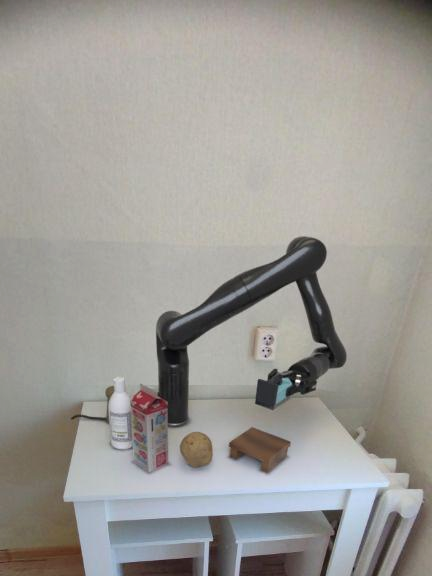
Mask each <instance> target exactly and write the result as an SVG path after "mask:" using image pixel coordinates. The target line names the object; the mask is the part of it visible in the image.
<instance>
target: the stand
mask: <svg viewBox="0 0 432 576" xmlns="http://www.w3.org/2000/svg"><path fill="white" fill-rule="evenodd" d="M290 447H291V441H290V440H288V439H285V438H283V437H280V436H277V435H274V434H273V433H269V432H266V431H263V430H261V429H258V428H256V427H253V426H251V427H250V428H248V429H247V430H245V431H244V432H243V433H241V434H240V435H238V436H237V437H235V438H233V439H232V440H231V441H229V442H228V448H230V451H229V458H231V459H233V460H237V459H239V458H240V457H242V456H243V455H247V456H250V457H252V458H255V459H256V460H259V461H261V469H260V471H261V472H263V473H265V474H269V472H270V471H271V470H273V469H274V468H275V467H276V466H278V465H279V464H280V463H281V462H283V461H284V460H285V459H286V458H287V457H288V451H289V448H290Z"/></svg>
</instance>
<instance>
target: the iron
mask: <svg viewBox="0 0 432 576" xmlns="http://www.w3.org/2000/svg"><path fill="white" fill-rule="evenodd" d="M267 379H268V378H267ZM290 386H292V383H291V381H290V380H289V378H283V376H282V375H281V374H277V375H275V376H274V377H272V378H270V379H268V380H265V379H263V378H258V379H257V383H256V391H255V401H254V404H255V405H257V406H260V407H263V408H265V409H269V410H272V411H274V410H276V409H277V408H279V407H281V406H282V405H283V404H285V403H286V402H288V401H289V400H291V396H289V397H287V396H286V390H287V388H289V387H290Z"/></svg>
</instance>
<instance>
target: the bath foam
mask: <svg viewBox="0 0 432 576" xmlns="http://www.w3.org/2000/svg"><path fill="white" fill-rule="evenodd" d="M125 381H126V380H125V377H122V376H116V377H114V378H113V386H114V393H113V394H112V396H111V398H110V400H109V404H108V412H109V423H110V424H109V423H108V424H109V433H110V435H109V436H110V443H111V446H112V447H113V448H114V449H116V450H117V449H118V450H127V449H131V448H133V440H132V421H131V403H130V399H131V398H132V397H131V396H130V395H129V393H128V392H127V391H126V382H125Z"/></svg>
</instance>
